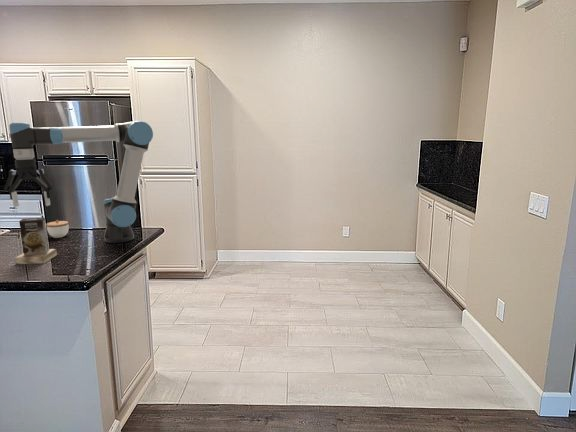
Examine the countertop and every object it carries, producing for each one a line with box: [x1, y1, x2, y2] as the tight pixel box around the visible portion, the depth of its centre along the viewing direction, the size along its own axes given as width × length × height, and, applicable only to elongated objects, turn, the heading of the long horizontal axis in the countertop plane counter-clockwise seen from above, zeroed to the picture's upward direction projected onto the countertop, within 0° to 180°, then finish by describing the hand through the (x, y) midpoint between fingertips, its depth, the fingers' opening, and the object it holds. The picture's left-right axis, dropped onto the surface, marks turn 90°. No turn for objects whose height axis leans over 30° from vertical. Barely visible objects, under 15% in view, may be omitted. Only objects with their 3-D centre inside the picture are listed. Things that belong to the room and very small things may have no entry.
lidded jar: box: [46, 219, 70, 239], centre depth 216 cm, size 11×11×9 cm
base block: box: [14, 248, 58, 265], centre depth 177 cm, size 12×12×3 cm
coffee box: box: [19, 216, 50, 256], centre depth 175 cm, size 9×6×16 cm
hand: (32, 205), depth 174 cm, fingers open, 13 cm apart
